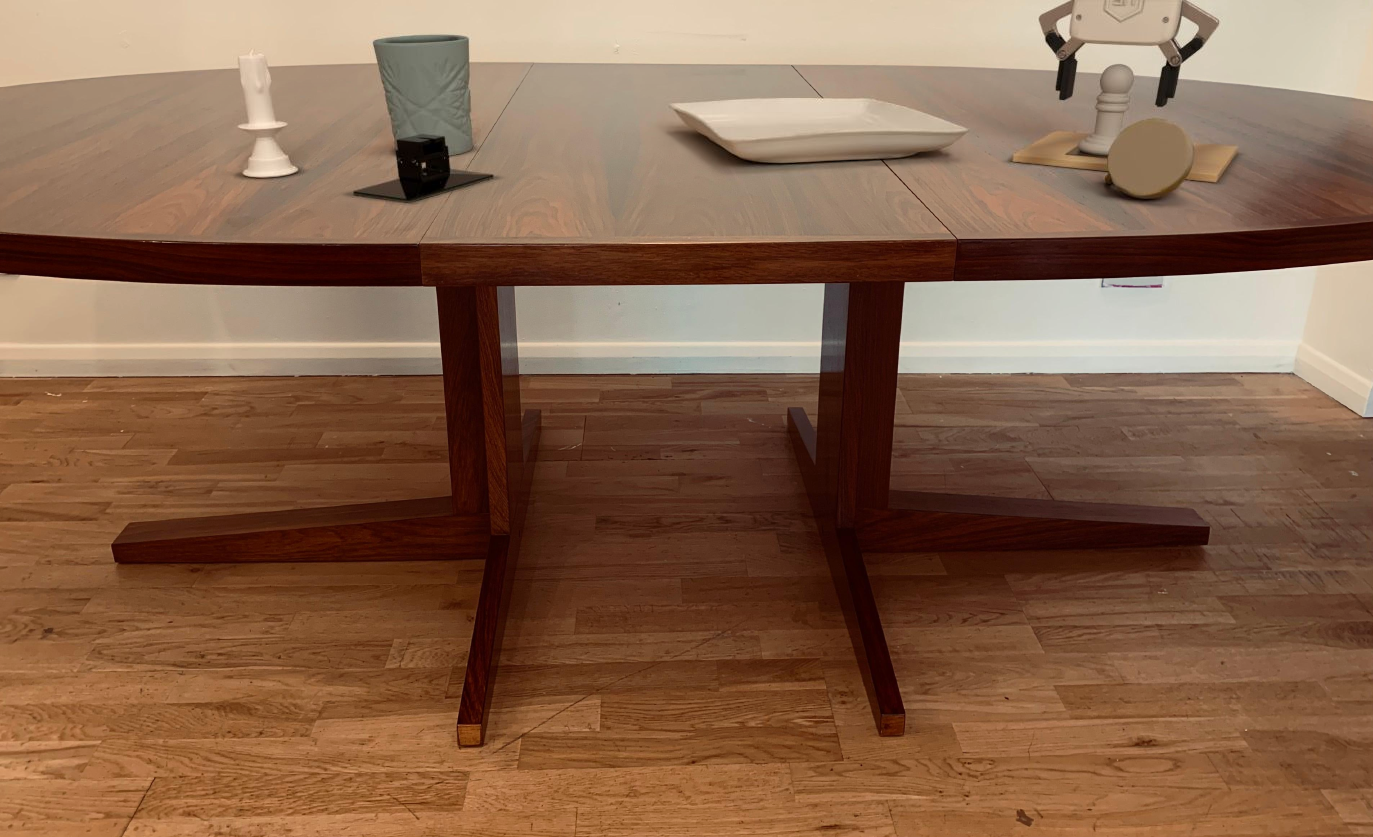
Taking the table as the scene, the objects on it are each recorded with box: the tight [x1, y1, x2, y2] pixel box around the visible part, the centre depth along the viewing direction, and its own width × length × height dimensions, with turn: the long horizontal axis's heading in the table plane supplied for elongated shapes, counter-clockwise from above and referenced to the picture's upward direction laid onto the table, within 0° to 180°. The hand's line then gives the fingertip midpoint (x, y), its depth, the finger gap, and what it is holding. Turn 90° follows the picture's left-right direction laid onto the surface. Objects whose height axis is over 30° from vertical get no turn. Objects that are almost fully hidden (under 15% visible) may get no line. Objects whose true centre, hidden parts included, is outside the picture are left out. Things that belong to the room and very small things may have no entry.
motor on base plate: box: [352, 134, 495, 203], centre depth 97 cm, size 12×7×5 cm, turn 152°
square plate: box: [668, 97, 970, 164], centre depth 117 cm, size 27×27×4 cm
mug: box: [1104, 118, 1194, 200], centre depth 94 cm, size 8×10×10 cm
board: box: [1011, 130, 1239, 183], centre depth 111 cm, size 20×18×1 cm
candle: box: [237, 48, 299, 179], centre depth 101 cm, size 5×5×12 cm
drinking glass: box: [372, 34, 474, 157], centre depth 113 cm, size 10×10×12 cm
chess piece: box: [1078, 63, 1135, 155], centre depth 107 cm, size 5×5×9 cm
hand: (1112, 101), depth 107 cm, fingers open, 9 cm apart
